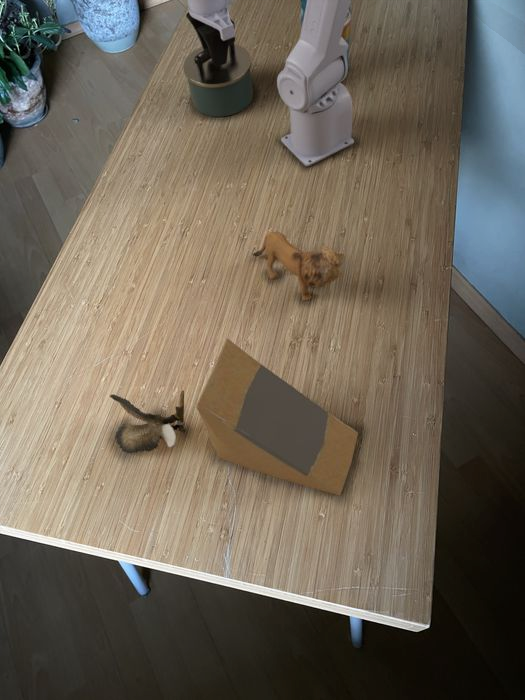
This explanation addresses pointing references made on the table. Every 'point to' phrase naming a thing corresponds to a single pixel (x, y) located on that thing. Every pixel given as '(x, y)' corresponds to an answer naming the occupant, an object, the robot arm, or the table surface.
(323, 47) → the robot arm
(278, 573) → the table surface
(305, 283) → the lion figurine
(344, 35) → the beverage bottle
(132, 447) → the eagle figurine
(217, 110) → the green lidded pot
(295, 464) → the sandwich container
